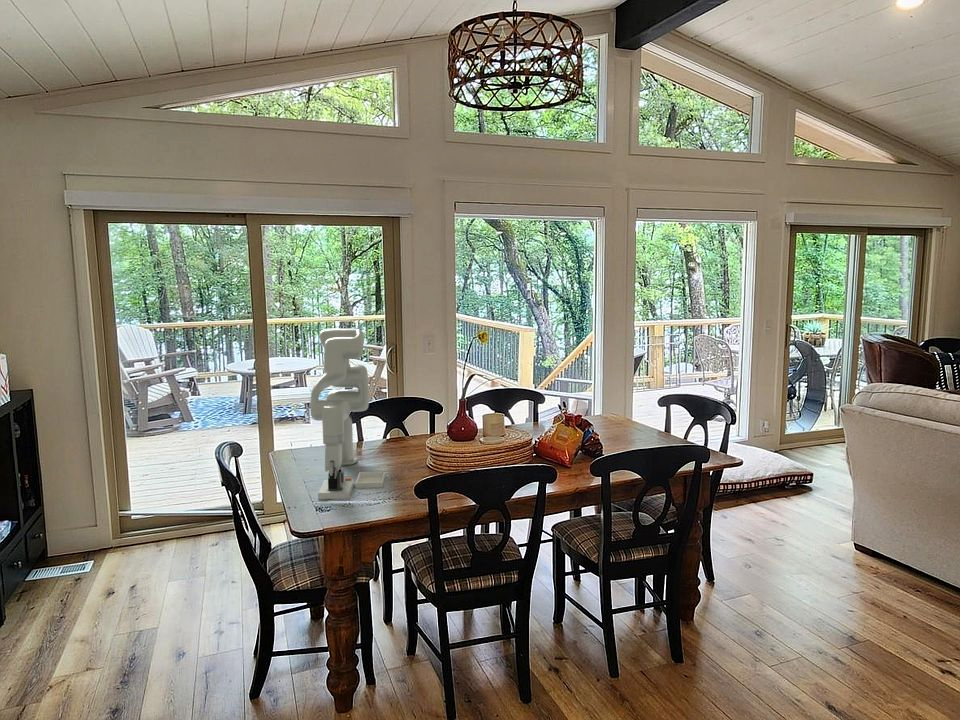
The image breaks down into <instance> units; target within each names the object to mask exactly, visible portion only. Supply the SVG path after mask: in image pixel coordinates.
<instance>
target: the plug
mask: <svg viewBox="0 0 960 720" xmlns="http://www.w3.org/2000/svg"><path fill="white" fill-rule="evenodd" d="M333 473H335V472H333ZM334 475H335V474H334ZM336 478H337V485H338V488H337V489H329V491H341V472H337V476H336Z"/></svg>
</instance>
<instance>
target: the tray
mask: <svg viewBox="0 0 960 720" xmlns="http://www.w3.org/2000/svg"><path fill="white" fill-rule="evenodd" d="M356 477H357V478H356V480H355V482H354V486H355V489H357V488H358V489H359V488H365V489H366V488H383V486H384V483H385V478H386V471H359V472H358V475H357V476H356Z"/></svg>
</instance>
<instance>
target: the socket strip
mask: <svg viewBox="0 0 960 720" xmlns="http://www.w3.org/2000/svg"><path fill="white" fill-rule="evenodd" d="M354 486H355V478H353V477H345V470H344V469H341V491H329V489H328V478H327V479H324V480H323V483H322V484H321V487H320V489H319V490H318V493H317V498H318V500H332V499H333V500H335V499H336V500H337V499H338V500H341V499H342V500H344V499H345V500H346V499H350V497H351V495H352V492H353V489H354ZM346 501H348V500H346Z"/></svg>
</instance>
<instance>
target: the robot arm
mask: <svg viewBox="0 0 960 720" xmlns="http://www.w3.org/2000/svg"><path fill="white" fill-rule="evenodd" d="M319 340H320V344H321V345H322V347H323V348H324V349H323V351H324V352H323V353H324V354H323V375H322V376H320V378H319V379H318V380H317V381H316V383H315V384H314V385H313V387H312V390H311V393H310V406H309V407H310V408H309V409H310V416H311V418H312V420H314V421H321V423H322V424H321V425H322V442H323V443H322V444H323V445H325V449H324V471H325V472H326V473H327V472H328V474H327V479H328V489H337V488H338V485H337V478H336V476H337V472H341V470H342V467H345V466H346V467H347V466H351V465H354V464H355V463H357V461H358V457H356V456H354V441H353V440H354V438H353V435H354V434H353V421H352V418H351V417H350V414H351V412H354V413H355V412H357V413H358V412H364V411H367V410H368V409H369V404H370V400H369V399H370V396H369V395H370V394H369V392H370V391H369V374H368V370H367V368H366V366H365V365H363V364H350V360H353V359H355V360H357V359H360V358H362V356H363V353H364V346H365V345H364V344H365V336H364V332H363V330H361V329H360V328H352V327H351V328H341V327H340V328H339V327H338V328H325V329H322V330H321V331H320V333H319ZM330 386H332V387H334V388H339V389H332V390H330V391H329V392H328V393H327V395H326V399H323V400H321V399H320V398H319V397H320V395H321V393H322V392H323V391H324V390H326V389H328V388H329V387H330ZM341 388H343V389H341ZM345 388H346V389H345ZM347 388H348V389H347ZM350 388H351V389H350ZM333 472H335V473H333ZM334 474H335V475H334Z"/></svg>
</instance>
